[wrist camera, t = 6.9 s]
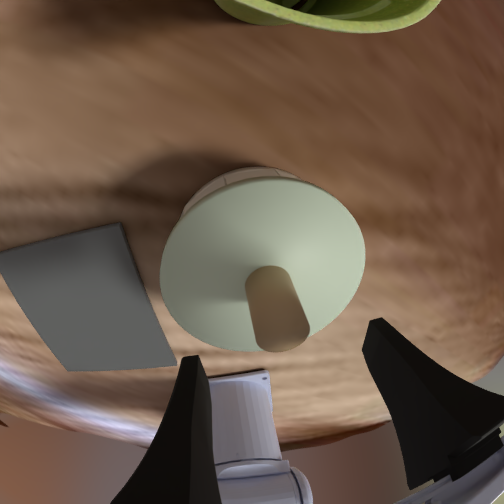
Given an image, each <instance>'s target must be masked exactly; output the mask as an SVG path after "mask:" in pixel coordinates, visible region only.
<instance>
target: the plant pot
mask: <svg viewBox="0 0 504 504" xmlns="http://www.w3.org/2000/svg"><path fill="white" fill-rule="evenodd" d="M214 1H215V2H216V3H217V5H218V6H219V7H220V8H221V9H223V10H224V11H225V12H227V13H228V14H230V15H231V16H233V17H235V18H237V19H239V20H242V21H245V22H248V23H251V24H256V25H269V26H272V25H283V24H289V23H294V24H297V25H302V26H306V27H311V28H316V29H321V30H327V31H335V32H344V33H378V32H388V31H392V30H397V29H401V28H404V27H407V26H410V25H412V24H414V23H417V22H418V21H420V20H422V19H423V18H425V17H426V16H427V15H428V14H429V13H430V12H431V11H432V10H433V9H434V8H435V7H436V6H437V5H438V4H439V2H440V1H441V0H308V1H307V2H306V3H305V4H304V5H303V6H302V7H301V8H300V9H298V10H292V9H291V7H293V6H294V5H295V4H296V3H298V2H299V1H300V0H214Z"/></svg>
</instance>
